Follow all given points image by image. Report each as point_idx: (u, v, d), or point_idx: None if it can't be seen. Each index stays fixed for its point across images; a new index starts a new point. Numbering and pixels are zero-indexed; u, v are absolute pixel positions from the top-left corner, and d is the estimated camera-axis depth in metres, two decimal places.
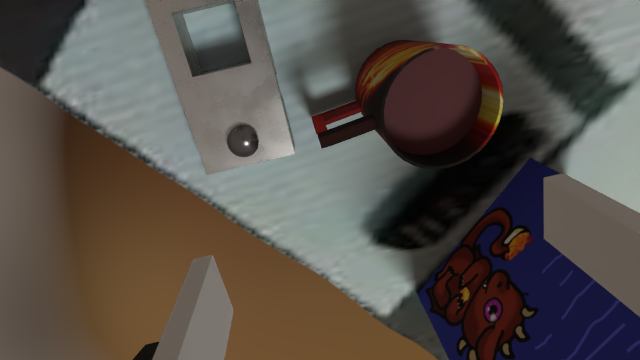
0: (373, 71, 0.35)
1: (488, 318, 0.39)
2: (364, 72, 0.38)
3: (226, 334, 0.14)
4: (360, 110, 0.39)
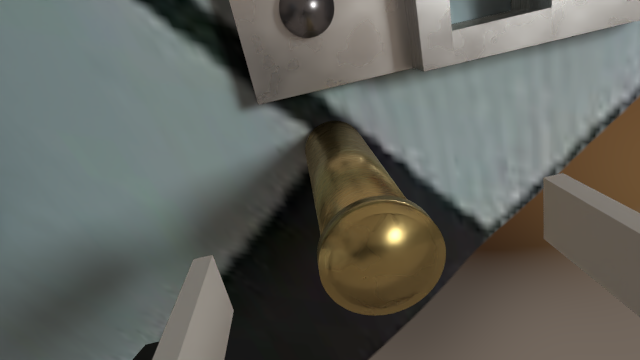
0: None
1: None
2: None
3: (226, 334, 0.14)
4: None
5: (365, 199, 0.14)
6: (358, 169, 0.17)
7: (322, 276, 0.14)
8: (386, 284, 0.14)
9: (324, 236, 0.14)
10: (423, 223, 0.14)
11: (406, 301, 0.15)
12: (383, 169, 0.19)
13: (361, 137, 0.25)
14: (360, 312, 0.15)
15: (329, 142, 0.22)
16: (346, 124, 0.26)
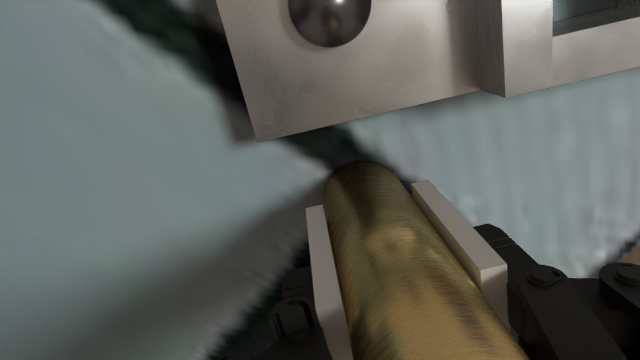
0: None
1: None
2: None
3: None
4: None
5: None
6: (424, 275, 0.10)
7: None
8: None
9: None
10: None
11: None
12: (458, 263, 0.11)
13: None
14: None
15: (362, 203, 0.15)
16: (380, 165, 0.19)
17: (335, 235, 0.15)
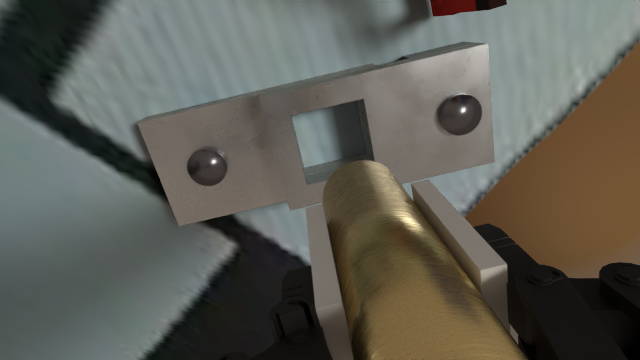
0: None
1: None
2: None
3: None
4: None
5: None
6: (422, 273, 0.10)
7: None
8: None
9: None
10: None
11: None
12: (455, 262, 0.12)
13: None
14: None
15: (361, 203, 0.15)
16: (379, 165, 0.19)
17: (335, 235, 0.15)
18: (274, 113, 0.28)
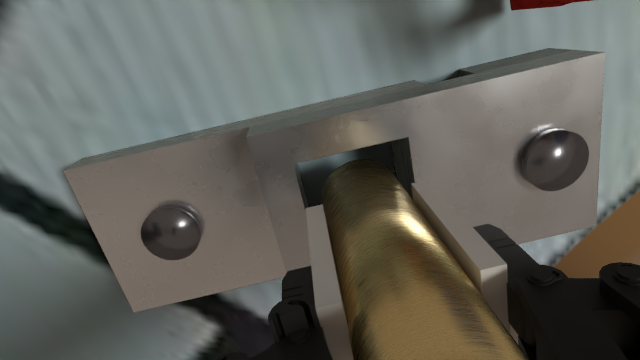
0: None
1: None
2: None
3: None
4: None
5: None
6: (420, 270, 0.10)
7: None
8: None
9: None
10: None
11: None
12: (453, 260, 0.12)
13: (401, 185, 0.18)
14: None
15: (360, 201, 0.15)
16: (378, 164, 0.19)
17: (334, 233, 0.15)
18: (270, 160, 0.18)
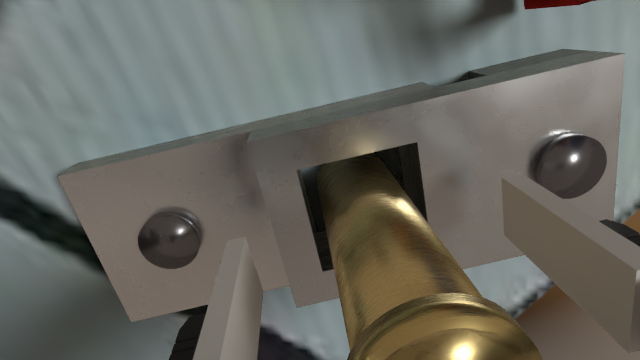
0: None
1: None
2: None
3: (259, 311, 0.15)
4: None
5: (421, 299, 0.09)
6: (397, 230, 0.12)
7: None
8: None
9: (357, 356, 0.09)
10: (515, 341, 0.09)
11: None
12: (427, 225, 0.14)
13: None
14: None
15: (350, 180, 0.17)
16: None
17: (327, 209, 0.17)
18: (272, 166, 0.17)
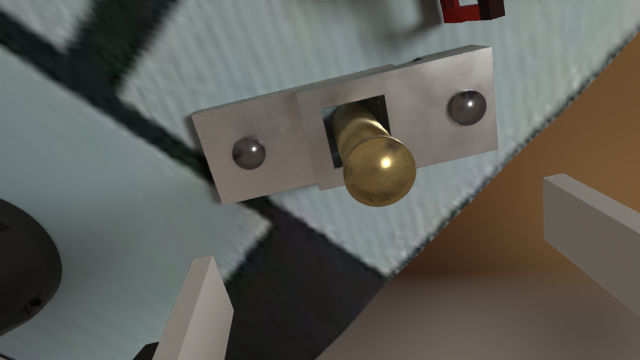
0: None
1: None
2: None
3: (226, 334, 0.14)
4: None
5: (370, 136, 0.25)
6: (367, 126, 0.28)
7: (345, 180, 0.25)
8: (382, 187, 0.25)
9: (347, 157, 0.25)
10: (402, 149, 0.24)
11: (394, 198, 0.25)
12: (383, 128, 0.29)
13: None
14: None
15: (348, 114, 0.33)
16: (360, 104, 0.37)
17: (336, 129, 0.33)
18: (308, 107, 0.33)
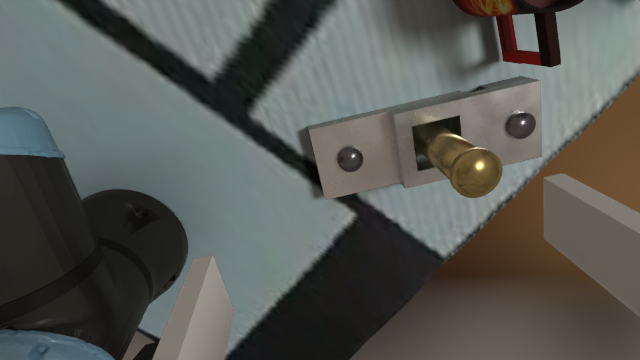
0: (487, 8, 0.38)
1: None
2: (476, 11, 0.41)
3: (226, 334, 0.14)
4: (510, 14, 0.41)
5: (470, 148, 0.35)
6: (458, 140, 0.39)
7: (453, 179, 0.35)
8: (477, 183, 0.36)
9: (454, 162, 0.35)
10: (494, 157, 0.35)
11: (485, 192, 0.36)
12: None
13: None
14: (465, 196, 0.36)
15: (433, 130, 0.43)
16: (434, 121, 0.47)
17: (424, 141, 0.43)
18: (402, 124, 0.43)
